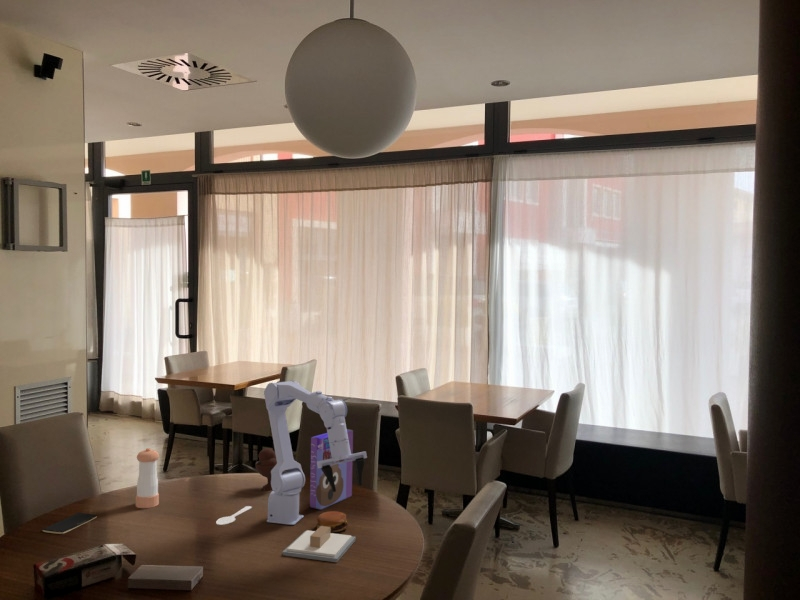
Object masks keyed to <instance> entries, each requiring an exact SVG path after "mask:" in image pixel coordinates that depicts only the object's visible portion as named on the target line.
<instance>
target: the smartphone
mask: <svg viewBox="0 0 800 600" xmlns="http://www.w3.org/2000/svg"><path fill="white" fill-rule="evenodd" d="M97 517H98V515H97V514H92V513H83V512H77V513H74V514H72V515H71V516H69V517H65V518H64V519H62V520H59V521H57V522H55V523H53V524H50V525H48V526H46V527H44V528H42V532H44V533H49V534H50V533H51V534H57V535H58V534H59V535H61V534H62V535H64V534H66V533H68V532H70V531H72V530H74V529H77V528H78V527H80V526H82V525H84V524H87V523H89V522H91V521H92V520H95V519H97Z"/></svg>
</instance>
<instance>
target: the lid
mask: <svg viewBox="0 0 800 600" xmlns="http://www.w3.org/2000/svg"><path fill="white" fill-rule="evenodd" d="M330 528H331V527H326V526H320V527H319V528H318V529H317V528H316V530H308V529H307V530H305V531H306V532H305V531H304V532H305V533H304V534H303V535H302V536H300V535H299V536H300V537H299V536H298V537H299V538H298V537H297V538H298V539H297V538H296V539H297V540H296V539H295V540H296V541H295V540H294V541H295V542H294V541H293V542H294V543H293V544H292V545H291V546H290V547H288V546H287V547H288V548H287V547H286V548H287V551H294V552H302V553H309V554H317V555H325V556H332V557H335V556H336V555H337V554H338V553H339V551H340V550H341V549H342V548H343V547H344V546H345V545H346V543H347V542H348V541H349V540H350V539H351V538H352V535H350V534H341V533H335V532H330Z"/></svg>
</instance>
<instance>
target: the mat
mask: <svg viewBox="0 0 800 600" xmlns="http://www.w3.org/2000/svg"><path fill="white" fill-rule="evenodd" d="M306 531H307V530H305V531H303V532H302V533H301V534H300V535H299V536H298V537H297V538H296V539H295V540H293V541H292V542H291V543H290V544H289V545H288V546H287V547H286V548H285V549H283V550H282V556H284V557H294V558H301V559H308V560H316V561H317V560H318V561H325V562H331V563H338V562H339V560H340V559H341V558H342V557H343V556H344V555H345V554H346V552H347V551H348V550H349V549H350V548H351V546H352V545H353V544H354V543H355V542H356V541H357V540H356V539H357V538H356V536H352V535H351V536H352V538H351V539H350V540H349V541H348V542H347V543H346V545H345V546H344V547H343V548H342V549H341V550H340V551H339V553H338V554H337V555H336V556H335V557H332V556H325V555H317V554H309V553H302V552H294V551H287V548H288V547H290V546H291V545H292V544H293V543H294V542H295V541H296V540H297V539H298V538H299V537H300V536H302V535H303V534H304V533H305V532H306Z"/></svg>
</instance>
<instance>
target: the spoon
mask: <svg viewBox="0 0 800 600" xmlns="http://www.w3.org/2000/svg"><path fill="white" fill-rule="evenodd" d="M252 508H253V506H250V505H247V506H244V507H243V508H241V509H240V510H238V511H237V512H235V513H234V514H231V515H229V516H223V517H220V518H218V519H217V520H216V521H215V524H216V525H218V526H225V525H228V524H231V523H233V522H235V521H236V519H237V518H236V517H237V516H239V515H241V514H242V513H245V512H246V511H249V510H251V509H252Z"/></svg>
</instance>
